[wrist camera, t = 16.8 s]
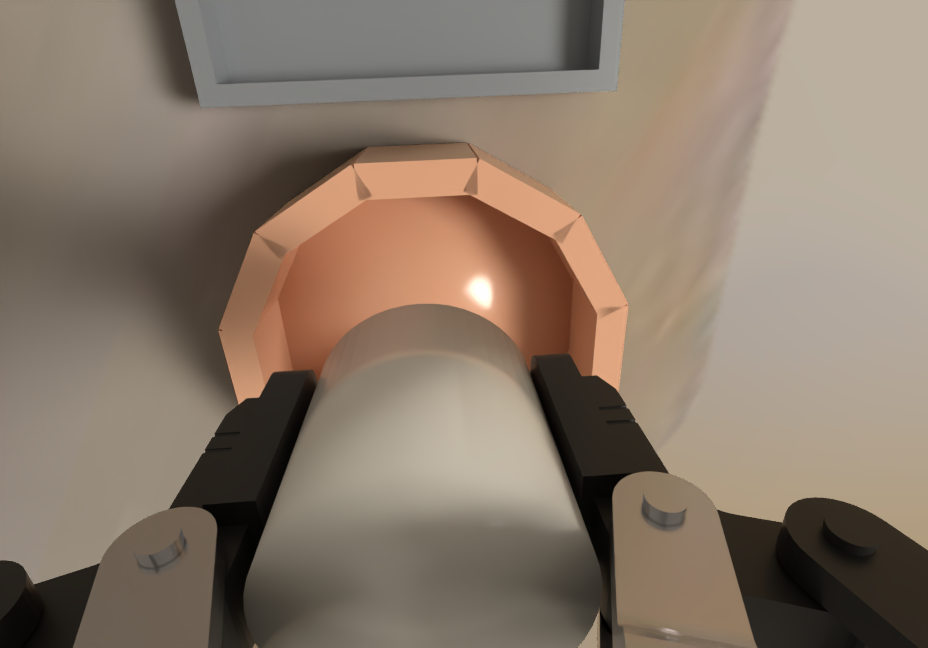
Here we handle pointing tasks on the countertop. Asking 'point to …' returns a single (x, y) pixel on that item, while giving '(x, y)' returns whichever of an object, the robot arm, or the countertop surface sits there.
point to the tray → (397, 49)
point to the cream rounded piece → (424, 501)
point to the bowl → (421, 263)
